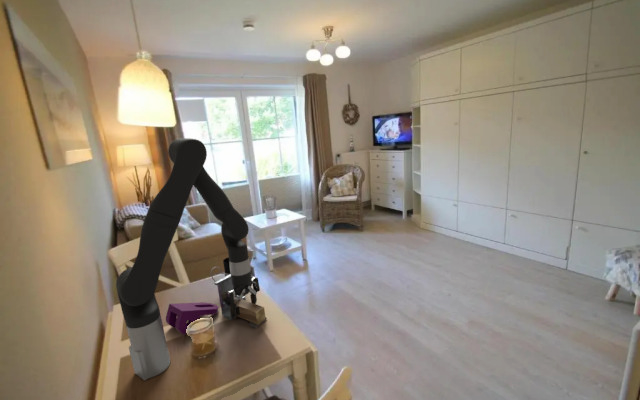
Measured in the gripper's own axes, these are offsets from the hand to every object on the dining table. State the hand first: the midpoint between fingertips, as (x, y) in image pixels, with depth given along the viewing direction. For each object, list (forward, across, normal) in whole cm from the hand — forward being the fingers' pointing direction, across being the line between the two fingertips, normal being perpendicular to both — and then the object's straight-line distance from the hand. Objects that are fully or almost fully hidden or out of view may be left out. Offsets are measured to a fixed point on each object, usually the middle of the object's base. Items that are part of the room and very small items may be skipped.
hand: (246, 308), depth 119 cm
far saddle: (+4, 0, -6) cm, 7 cm away
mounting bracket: (+5, -11, +17) cm, 21 cm away
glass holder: (+4, +11, +23) cm, 26 cm away
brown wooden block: (+3, 0, 0) cm, 3 cm away
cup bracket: (+4, 0, +7) cm, 8 cm away
